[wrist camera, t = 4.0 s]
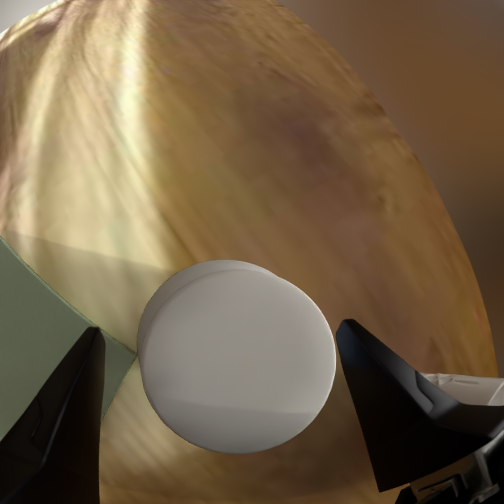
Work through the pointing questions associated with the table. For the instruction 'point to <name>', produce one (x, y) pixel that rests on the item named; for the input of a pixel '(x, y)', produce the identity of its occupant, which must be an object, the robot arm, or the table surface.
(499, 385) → the white cup
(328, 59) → the table surface
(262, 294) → the pill bottle
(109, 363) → the mat
